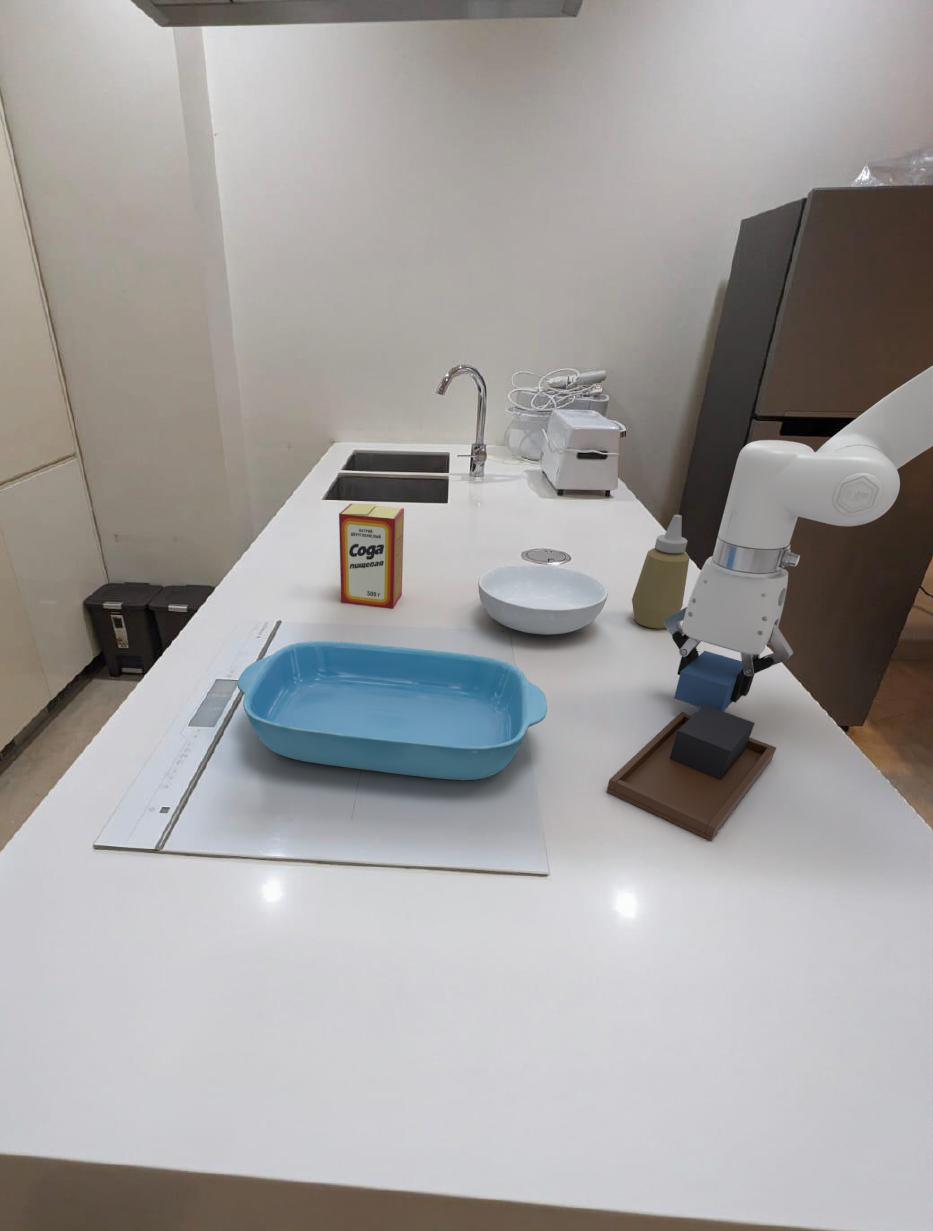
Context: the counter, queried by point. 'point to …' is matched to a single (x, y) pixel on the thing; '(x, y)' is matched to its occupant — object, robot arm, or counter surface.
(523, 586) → the serving bowl
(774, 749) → the brown wooden tray
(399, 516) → the baking soda box
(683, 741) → the black block
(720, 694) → the blue rectangular block
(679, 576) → the squeeze bottle
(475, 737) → the casserole dish
